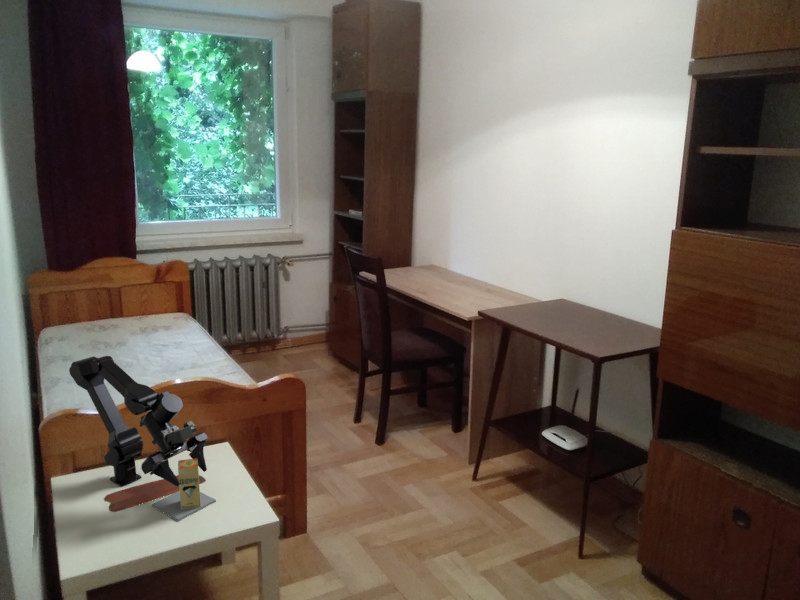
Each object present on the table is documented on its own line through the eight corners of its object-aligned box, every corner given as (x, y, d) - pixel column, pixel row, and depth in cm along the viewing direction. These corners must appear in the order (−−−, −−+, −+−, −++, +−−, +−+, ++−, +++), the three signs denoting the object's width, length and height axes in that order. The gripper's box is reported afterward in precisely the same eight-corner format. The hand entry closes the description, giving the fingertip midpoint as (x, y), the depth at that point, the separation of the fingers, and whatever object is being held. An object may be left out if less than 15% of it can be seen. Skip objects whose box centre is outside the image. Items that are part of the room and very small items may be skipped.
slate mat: (151, 506, 171) (151, 504, 171) (188, 488, 180) (188, 486, 180) (178, 521, 164) (178, 519, 164) (215, 501, 174) (215, 499, 173)
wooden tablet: (112, 515, 167) (112, 510, 167) (102, 499, 175) (102, 494, 175) (209, 484, 184) (209, 479, 183) (196, 471, 191) (196, 466, 191)
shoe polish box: (181, 500, 173) (178, 460, 170) (200, 497, 174) (197, 458, 172) (181, 510, 168) (178, 469, 165) (200, 507, 170) (197, 466, 167)
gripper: (145, 428, 160) (177, 479, 157) (201, 404, 175) (232, 450, 172) (127, 449, 165) (158, 498, 162) (184, 424, 181) (213, 469, 178)
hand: (192, 478), depth 169 cm, fingers open, 9 cm apart
